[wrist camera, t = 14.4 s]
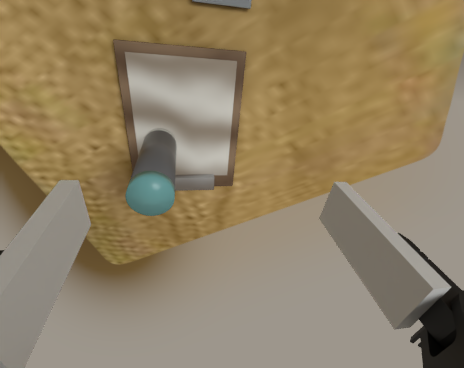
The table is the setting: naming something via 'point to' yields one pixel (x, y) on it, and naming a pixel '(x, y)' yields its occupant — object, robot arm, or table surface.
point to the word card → (228, 3)
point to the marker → (154, 174)
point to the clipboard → (184, 106)
